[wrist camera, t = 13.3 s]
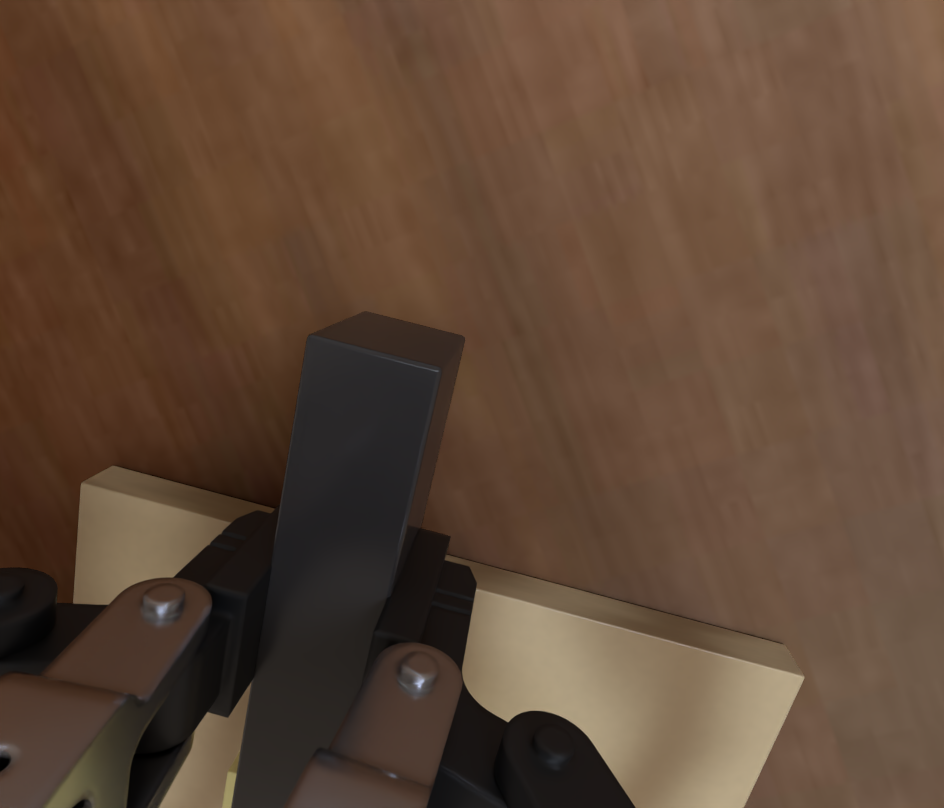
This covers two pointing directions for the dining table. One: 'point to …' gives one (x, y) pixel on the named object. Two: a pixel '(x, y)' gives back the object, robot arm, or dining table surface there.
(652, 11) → the dining table surface
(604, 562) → the dining table surface
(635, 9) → the dining table surface
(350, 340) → the screwdriver
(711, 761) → the board
